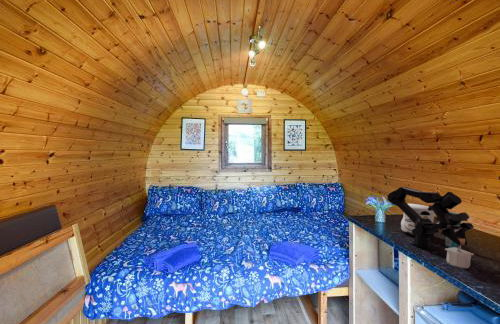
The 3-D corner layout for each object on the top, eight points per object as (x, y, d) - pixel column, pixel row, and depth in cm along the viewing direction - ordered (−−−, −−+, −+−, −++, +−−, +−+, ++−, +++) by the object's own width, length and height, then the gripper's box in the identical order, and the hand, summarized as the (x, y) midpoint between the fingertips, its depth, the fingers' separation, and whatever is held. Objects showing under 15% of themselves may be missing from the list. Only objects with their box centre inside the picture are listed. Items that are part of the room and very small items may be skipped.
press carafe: (442, 261, 114) (444, 248, 114) (456, 258, 118) (457, 246, 118) (462, 269, 107) (464, 255, 107) (475, 266, 111) (477, 253, 110)
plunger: (448, 255, 113) (450, 236, 113) (455, 254, 115) (457, 235, 115) (461, 261, 108) (464, 240, 108) (468, 259, 110) (471, 239, 110)
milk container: (406, 237, 145) (409, 207, 144) (396, 228, 162) (398, 202, 161) (439, 241, 141) (442, 211, 140) (425, 232, 158) (428, 205, 157)
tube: (459, 247, 133) (463, 213, 132) (459, 250, 130) (463, 215, 129) (442, 243, 138) (446, 210, 137) (441, 245, 135) (445, 211, 134)
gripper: (438, 205, 113) (460, 237, 103) (472, 206, 116) (495, 237, 106) (422, 217, 121) (440, 247, 111) (453, 217, 124) (474, 247, 114)
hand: (463, 244), depth 110 cm, fingers closed on plunger, 3 cm apart
